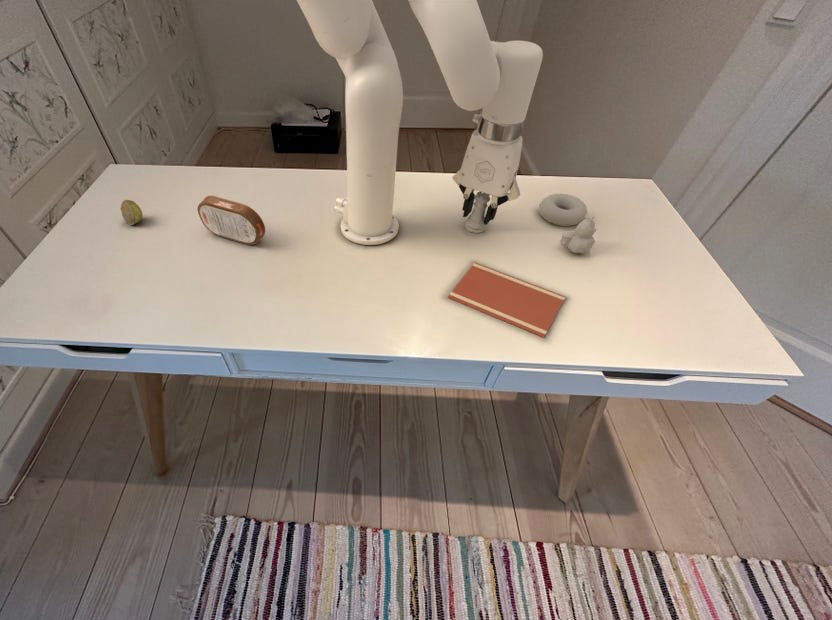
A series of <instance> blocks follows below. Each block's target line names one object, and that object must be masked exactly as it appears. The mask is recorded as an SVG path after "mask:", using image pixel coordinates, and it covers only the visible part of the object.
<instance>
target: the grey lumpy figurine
mask: <svg viewBox="0 0 832 620" xmlns="http://www.w3.org/2000/svg"><path fill="white" fill-rule="evenodd" d="M594 219H595V215H594V216H592V217H590V216H588V217H587V218H584V220H582V221H581V222H580V223H578V224H577V226H576V228H575V229H573V230H572V231H563V233H562V234H561V240H560V241H559V243H560V245H561V246H564V247H567V248H568V250H569V251H570V252H572V253H574V254H586V253H587V252H589V251H590V250H591V249H592V248H593V247H594V245H595V244H596V241H595V238H594V234H595V233H596V232H597V228H596V224H595V222H594Z"/></svg>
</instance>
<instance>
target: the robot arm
mask: <svg viewBox="0 0 832 620" xmlns="http://www.w3.org/2000/svg"><path fill="white" fill-rule="evenodd" d="M296 2H297V4H298V6H299V8H300V10H301V12H302V14H303V16H304V18H305V19H306V21H307V23H308V25H309V28H310V30H311V31H312V35H313V37H314V38H315V40H316V42H317V44H318V45H319V46H320V48H321V49H322V50H323V51H324V52H325V53H327V55H329V56H331V57H332V58H334V59H335V60H336V62H337V64H338V66H339V67H340V69H341V71H342V73H343V75H344V77H345V86H344V87H345V89H344V90H345V92H344V104H345V105H344V107H345V108H344V109H345V137H346V139H345V141H346V142H345V144H346V145H345V147H346V196H347V198H343V197H341V196H338V197H337V198H336V199H335V206H334V207H333V211H334V212H336V213H339V214H341V215H342V216H343V217H342V219H341V221H340V232H341V234H342V235H343V237H345V238H346V239H347V240H349V241H350V242H352V243H355V244H359V245H365V246H376V245H381V244H385V243H387V242H390V241H391V240H393V239H394V238H395V237H396V236H397V234H398V232H399V227H400V226H399V225H400V224H399V221H398V218H397V217H396V216H395V215H393V210H394V199H395V186H396V173H397V159H398V145H399V135H400V126H401V119H402V113H403V105H404V88H403V87H404V86H403V79H402V75H401V71H400V68H399V63H398V59H397V55H396V54H395V51H394V49H393V47H392V44H391V42H390V39H389V37H388V35H387V33H386V30H385V27H384V25H383V23H382V20H381V19H380V15H379V13H378V11H377V9H376V6H375V4H374V1H373V0H296ZM407 2H408V3H409V6H410V8H411V11H412V12H413V14H414V16H415V18H416V19H417V21H418V23H419V25H420V26H421V28H422V29H423V30H422V31H423V33H424V34H425V37H426V39H427V41H428V43H429V45H430V48H431V50H432V52H433V55H434V57H435V60H436V62H437V64H438V66H439V69H440V72H441V74H442V77H443V79H444V81H445V84H446V86H447V89H448V91H449V94H450V96H451V99H452V100H453V102H454V103H455V104H456V106H457V107H459V108H461V109H462V110H464V111H469V112H472V111H478V110H481V109H482V111H481V113H478V114H477V113H474V115H473V117H472V123H475V125H477V128H476V129H474V130H473V131H472V134H471V136H470V138H469V141H468V144H467V147H466V150H465V154H464V157H463V160H462V163H461V166H460V169H458V171H457V172H456V173H454V174H453V175H452V180H453V181H454V183H455V184H456V185H458V188H459V189H460V192H461V193H462V198H463V199H464V201H463V205H462V210H461V211H463V214H462V218H468V217H469V216H470V215H471V214H472V211H473V209H474V203H475V199H474V197H475V195H476V194H475V193H474V192H475V191H476V192H479V191H480V192H482V193H486V194H489V195H490V196H491V198H490V204H489V205H488V206H487V207H486V211H485V219H484V224H486V226H487V225H488V224H489V223H490V221H494V219H496V215H497V211H498V207H499V206H501V205H503V204H505V203H506V202H511V201H514V200H517V199H518V198H519V197H520V196H521V191H520V188H519V184H518V181H517V174H518V171H519V167H520V162H521V156H522V150H523V140H524V139H523V136H521V134H522V131H523V127H524V123H525V120H526V116H527V113H528V111H529V108H530V107H529V106H530V103H531V101H532V100H531V99H532V97H533V93H534V89H535V86H536V82H537V79H538V76H539V72H540V69H541V65H542V62H543V57H544V52H543V48H542V47H541V46H540V45H538V44H537V43H534V42H532V41H527V40H509V41H505V42H501V41H495V40H491V39H490V35H489V32H488V29H487V25H486V23H485V20H484V18H483V15H482V12H481V9H480V6H479V3H478V1H477V0H407Z"/></svg>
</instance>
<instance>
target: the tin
mask: <svg viewBox="0 0 832 620" xmlns="http://www.w3.org/2000/svg"><path fill="white" fill-rule="evenodd" d="M197 213H198V216H199V218H200V220H201V223H202V225H204V227H205V228H206V229H207V230H208V231H210V232H211V233H212V234H214V235H216V236H218V237H220V238H224V239H227V240H230V241H234V242H237V243H239V244H240V243H241V244H243V245H247V246H253V245H255V244H257V243H258V242H259V241H260V240H261V239H262V238H264V237H265V235H266V226H265V223H264V220H263V219H262V217H261V215H259V213H258V212H257V211H256V210H255V209H254V208H252V207H251V206H249V205H246V204H244V203H241V202H238V201H233V200H230V199H226V198H223V197H219V196H216V195H207V196H205V197H204V198H203V200H202V201H201V202H200V203H198V205H197Z"/></svg>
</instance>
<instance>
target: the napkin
mask: <svg viewBox="0 0 832 620" xmlns="http://www.w3.org/2000/svg"><path fill="white" fill-rule="evenodd" d="M447 298H448V299H450V300H453V301H455V302H456V303H459V304H462V305H464V306H466V307H469V308H470V309H471V308H472V309H473V310H477V311H479V312H481V313H483V314H486V315H488V316H490V317H492V318H495V319H498V320H500V321H501V322H505V323H507V324H509V325H512V326H514V327H516V328H519V329H521V330H524V331H526V332H528V333H530V334H533V335H536V336H538V337H540V338H542V339H544V338H545V337H546V335H547V333H548V331H549V330H550V327H551V326H552V323H553V321H554V320H555V318H556V316H557V313H558V312H559V310H560V308H561V307H562V305H563V302H564V301H565V299H566V296H565V295H563V294H560V293H557V292H555V291H552V290H550V289H547V288H544V287H542V286H539V285H537V284H533V283H531V282H528V281H526V280H523V279H521V278H517V277H515V276H513V275H510V274H507V273H504V272H503V271H502V272H501V271H499V270H496V269H493V268H491V267H489V266H486V265H483V264H480V263H477V262H473V263H472V265H471V266H470V268H469V269H468V270H467V271H466V273H465V274H464V275H463V276H462V277H461V279H460V281H459V282H458V283H456V285H455V287H454V288H453V289H452V290H451V291H450V292H449V294H448V295H447Z"/></svg>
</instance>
